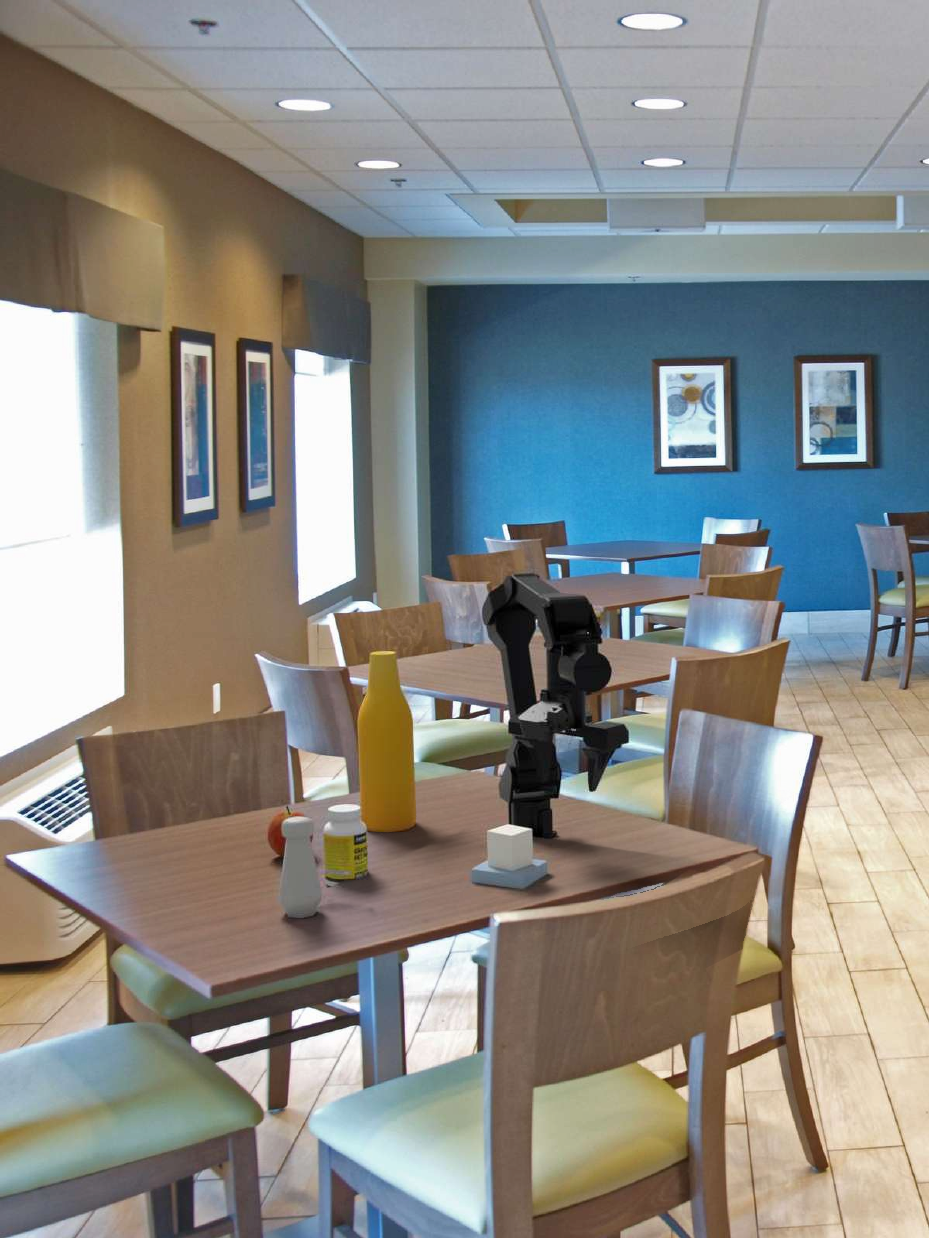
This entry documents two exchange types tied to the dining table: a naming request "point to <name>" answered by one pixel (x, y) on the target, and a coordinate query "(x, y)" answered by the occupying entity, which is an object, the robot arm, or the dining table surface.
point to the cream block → (510, 847)
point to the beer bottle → (386, 750)
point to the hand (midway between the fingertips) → (567, 786)
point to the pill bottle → (345, 845)
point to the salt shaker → (299, 870)
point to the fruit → (280, 831)
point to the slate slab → (509, 874)
